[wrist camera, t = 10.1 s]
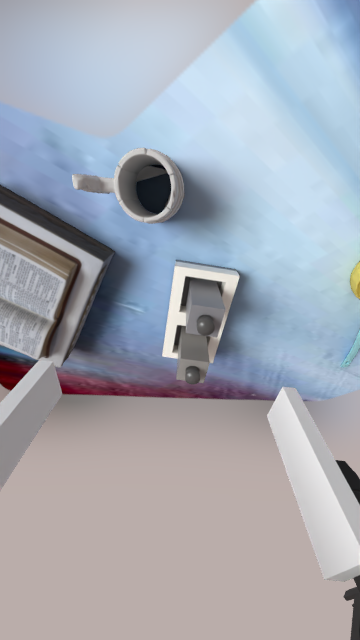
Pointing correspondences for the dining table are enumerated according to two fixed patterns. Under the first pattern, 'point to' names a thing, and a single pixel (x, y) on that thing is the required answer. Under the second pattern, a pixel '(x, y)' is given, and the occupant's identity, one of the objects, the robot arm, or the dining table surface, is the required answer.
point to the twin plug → (192, 357)
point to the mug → (129, 174)
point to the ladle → (359, 288)
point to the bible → (45, 279)
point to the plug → (204, 308)
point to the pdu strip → (177, 307)
